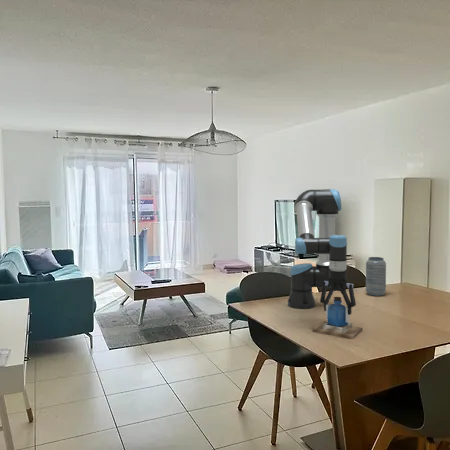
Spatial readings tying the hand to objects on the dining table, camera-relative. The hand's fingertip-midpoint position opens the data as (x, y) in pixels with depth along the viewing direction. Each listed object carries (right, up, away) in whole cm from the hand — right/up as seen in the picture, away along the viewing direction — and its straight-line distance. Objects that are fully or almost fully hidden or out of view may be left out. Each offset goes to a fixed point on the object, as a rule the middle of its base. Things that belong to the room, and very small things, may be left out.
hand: (337, 319), depth 187 cm
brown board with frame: (0, -5, 0) cm, 5 cm away
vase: (+43, -1, +70) cm, 82 cm away
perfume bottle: (0, -2, 0) cm, 2 cm away
